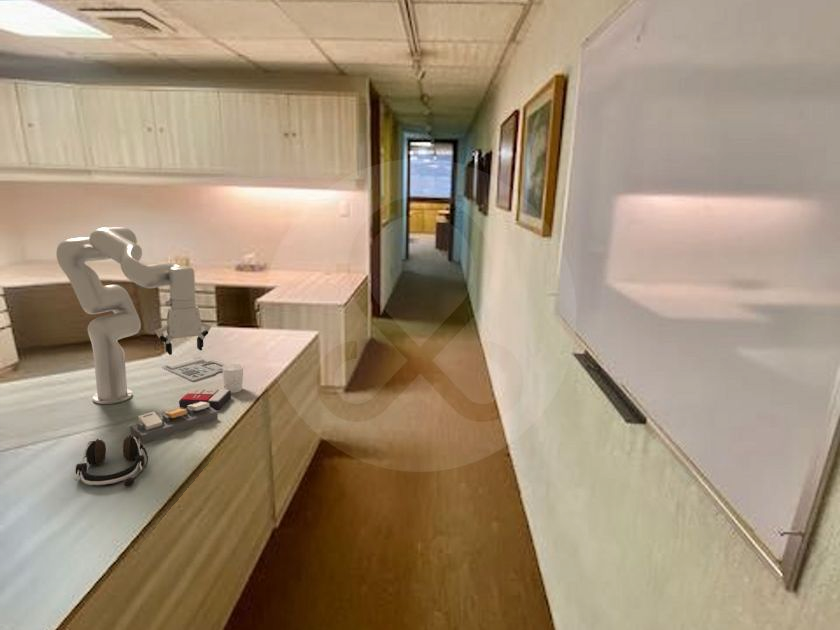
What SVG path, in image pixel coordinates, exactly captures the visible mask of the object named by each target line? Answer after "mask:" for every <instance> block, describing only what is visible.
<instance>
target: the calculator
mask: <svg viewBox="0 0 840 630" xmlns="http://www.w3.org/2000/svg"><path fill="white" fill-rule="evenodd" d="M231 399H232V393H231V391H230V390H224V389H217V388H206V389H205V388H192V389H190V390H189V392H187V393H186V394H185V395H184V396H182V397H181V398H180V399H179V400H178V404H179V408H180V407H184V408H183V409H186V408H187V406H188V405H191V404H194V403H198V402H207V403H209V404H210V407H211V408H213V409H215V410H216V411H221V410H222V409H223V408H224V407H225V406H226V404H228V402H229V401H231Z"/></svg>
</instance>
